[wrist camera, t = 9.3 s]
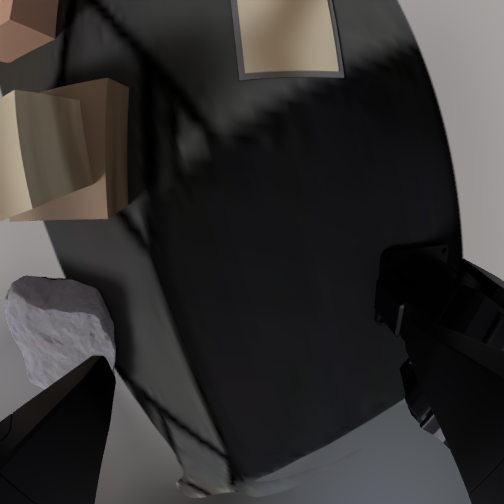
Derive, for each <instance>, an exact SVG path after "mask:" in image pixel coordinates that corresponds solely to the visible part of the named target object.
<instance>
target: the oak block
mask: <svg viewBox="0 0 504 504" xmlns="http://www.w3.org/2000/svg"><path fill="white" fill-rule="evenodd" d="M93 184H94V181H93V177H92V172H91V167H90V162H89V157H88V152H87V146H86V141H85V135H84V128H83V122H82V115H81V107H80V100H75V99H70V98H64V97H59V96H53V95H47V94H40V93H34V92H27V91H19V90H13V91H12V92H10V93H9V94H7V95H5V96H4V97H2V98H1V99H0V221H2V220H4V219H7V218H10V217H12V216H15V215H17V214H20V213H23V212H26V211H28V210H31V209H34V208H36V207H38V206H41V205H43V204H45V203H48V202H50V201H52V200H55V199H57V198H60V197H62V196H65V195H67V194H70V193H72V192H75V191H77V190H80V189H82V188H85V187H88V186H90V185H93Z"/></svg>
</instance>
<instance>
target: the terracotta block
mask: <svg viewBox="0 0 504 504" xmlns="http://www.w3.org/2000/svg"><path fill="white" fill-rule="evenodd" d="M58 1H59V0H0V61H1V62H6V63H10V62H12V61H13V60H15V59H17V58H19V57H21V56H22V55H24V54H26V53H28V52H30V51H32V50H34V49H36V48H38V47H40V46H42V45H44V44H46V43H48V42H50V41H52V40H54V39H55V32H56V19H57V9H58Z"/></svg>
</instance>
